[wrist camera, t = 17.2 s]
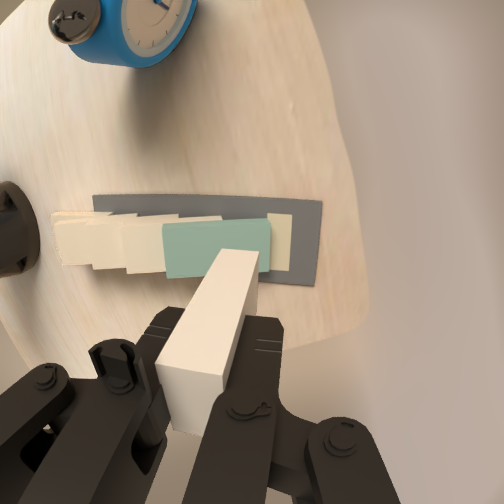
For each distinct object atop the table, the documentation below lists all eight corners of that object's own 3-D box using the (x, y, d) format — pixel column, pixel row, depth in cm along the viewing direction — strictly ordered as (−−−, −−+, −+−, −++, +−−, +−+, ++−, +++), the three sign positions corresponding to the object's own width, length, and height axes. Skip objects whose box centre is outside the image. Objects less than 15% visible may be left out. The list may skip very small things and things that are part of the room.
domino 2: (142, 254, 33) (66, 260, 31) (138, 213, 31) (59, 220, 29) (141, 260, 32) (62, 265, 30) (135, 216, 30) (54, 224, 28)
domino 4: (222, 261, 32) (129, 267, 30) (220, 215, 30) (123, 222, 28) (223, 267, 30) (127, 273, 28) (222, 220, 28) (119, 226, 27)
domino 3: (181, 257, 32) (96, 263, 31) (178, 213, 31) (89, 221, 29) (181, 263, 31) (93, 269, 29) (178, 217, 29) (85, 225, 27)
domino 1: (119, 252, 34) (63, 246, 35) (113, 212, 32) (57, 211, 33) (112, 257, 32) (56, 250, 34) (105, 215, 30) (49, 215, 32)
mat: (103, 263, 35) (102, 264, 35) (93, 195, 32) (92, 195, 32) (313, 284, 31) (314, 285, 31) (322, 201, 28) (322, 201, 28)
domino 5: (270, 222, 28) (161, 228, 26) (269, 271, 30) (166, 278, 28) (266, 218, 29) (163, 223, 27) (265, 264, 31) (167, 271, 29)
